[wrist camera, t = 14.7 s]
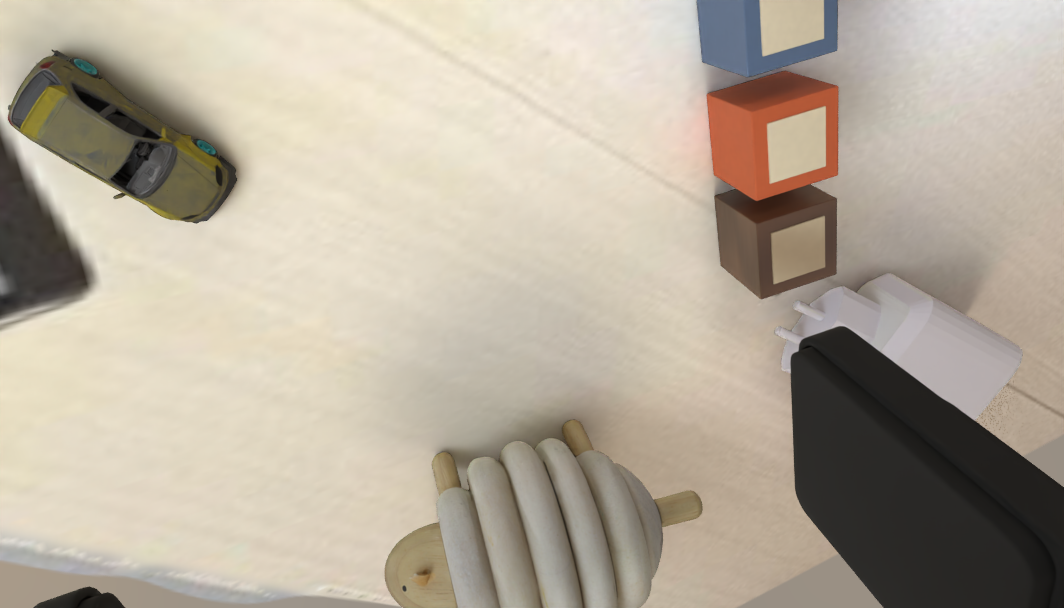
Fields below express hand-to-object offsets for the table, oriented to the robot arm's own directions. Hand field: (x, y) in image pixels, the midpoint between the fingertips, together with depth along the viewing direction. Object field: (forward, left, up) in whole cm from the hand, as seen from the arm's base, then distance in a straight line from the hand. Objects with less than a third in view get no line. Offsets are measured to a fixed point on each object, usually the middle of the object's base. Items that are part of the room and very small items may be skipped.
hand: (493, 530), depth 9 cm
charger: (+28, +12, -24) cm, 39 cm away
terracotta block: (+12, +14, -24) cm, 30 cm away
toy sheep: (+20, -8, -24) cm, 33 cm away
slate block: (+6, +16, -24) cm, 30 cm away
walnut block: (+16, +11, -24) cm, 31 cm away
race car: (-6, -8, -24) cm, 26 cm away
